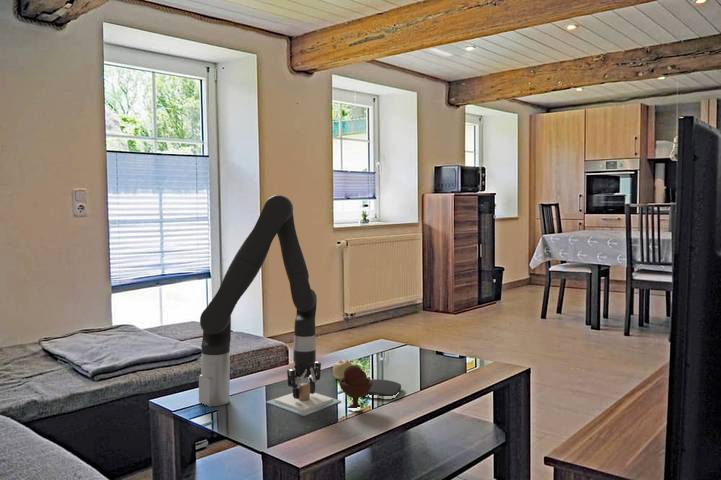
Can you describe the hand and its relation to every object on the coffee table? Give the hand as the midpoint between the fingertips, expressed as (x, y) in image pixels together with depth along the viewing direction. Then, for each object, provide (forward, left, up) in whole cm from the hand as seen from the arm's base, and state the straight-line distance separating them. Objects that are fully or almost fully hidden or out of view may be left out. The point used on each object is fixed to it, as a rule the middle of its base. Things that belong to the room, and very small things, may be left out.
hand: (304, 395), depth 206 cm
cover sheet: (0, 0, -2) cm, 2 cm away
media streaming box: (+26, -12, -3) cm, 29 cm away
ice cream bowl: (+7, -17, -3) cm, 19 cm away
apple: (+29, +8, -3) cm, 30 cm away
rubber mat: (0, 0, -2) cm, 2 cm away
